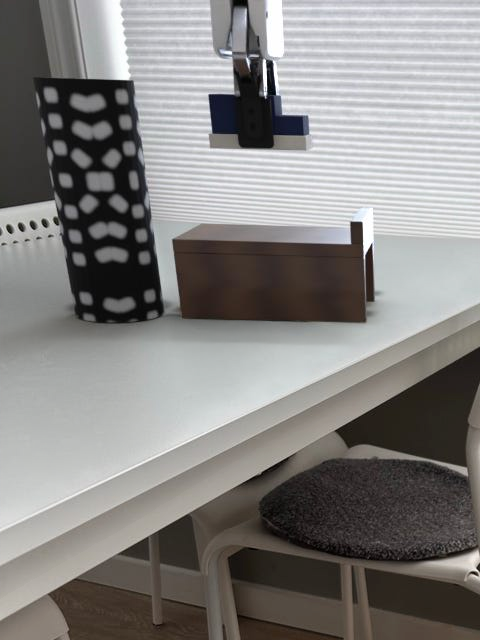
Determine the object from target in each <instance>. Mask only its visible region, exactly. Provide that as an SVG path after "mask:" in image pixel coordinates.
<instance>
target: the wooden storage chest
mask: <svg viewBox="0 0 480 640" xmlns="http://www.w3.org/2000/svg"><path fill="white" fill-rule="evenodd" d="M373 209H374V208H373V207H366V206H365V207H363V206H362V207H360V209H359V210H358V211H357V212H356V214H355V215H354V216H353V217H352V218H351V220H349V227H342V226H341V227H337V226H307V225H306V226H304V225H302V226H301V225H272V224H271V225H270V224H268V225H267V224H266V225H265V224H235V223H234V224H233V223H230V224H229V223H200V224H198V225H196V226H194V227H192V228H191V229H189V230H187V231H185V232H183V233H181V234H179V235H178V236H175V237H174V238H172V239H171V243H172V251H173V258H174V267H175V274H176V282H177V291H178V300H179V306H180V314H181V318H182V319H202V320H203V319H204V320H209V319H210V320H243V321H244V320H245V321H281V322H282V321H283V322H286V321H287V322H317V323H318V322H319V323H321V322H323V323H324V322H325V323H359V324H361V323H363V324H364V323H365V324H366V323H367V321H368V314H367V313H368V311H367V302H375V300H376V287H375V286H376V284H375V283H376V281H375V253H374V252H375V246H374V245H375V244H374V214H373V213H374V211H373Z"/></svg>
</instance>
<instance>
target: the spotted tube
mask: <svg viewBox="0 0 480 640" xmlns="http://www.w3.org/2000/svg"><path fill="white" fill-rule="evenodd" d="M32 80H33V87H34V91H35V97H36V103H37V108H38V114H39V119H40V125H41V131H42V135H43V136H42V137H43V142H44V147H45V152H46V159H47V163H48V169H49V170H48V171H49V176H50V180H51V181H50V182H51V187H52V193H53V198H54V204H55V207H56V214H57V219H58V226H59V232H60V236H61V242H62V248H63V253H64V258H65V264H66V269H67V274H68V281H69V287H70V292H71V297H72V298H71V299H72V303H73V308H74V314H75V317H76V318H78V319H79V320H82V321H87V322H94V323H105V324H106V323H109V324H110V323H111V324H113V323H115V324H117V323H133V322H134V323H135V322H143V321H148V320H152V319H156V318H159V317H162V316H163V315H164V314H165V306H164V297H163V290H162V282H161V275H160V267H159V260H158V252H157V244H156V237H155V231H154V223H153V215H152V208H151V201H150V194H149V193H150V192H149V186H148V178H147V171H146V170H147V169H146V163H145V156H144V147H143V142H142V133H141V126H140V119H139V109H138V103H137V96H136V88H135V80H134V79H113V78H112V79H111V78H110V79H109V78H84V77H83V78H81V77H79V78H78V77H51V76H49V77H47V76H45V77H44V76H32Z"/></svg>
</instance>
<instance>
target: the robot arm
mask: <svg viewBox="0 0 480 640" xmlns="http://www.w3.org/2000/svg"><path fill="white" fill-rule="evenodd" d="M209 7H210V21H211V37H212V39H211V40H212V47H213V48H212V49H213V52H214V53H215V54H216V56H217V57H218V58H220V59H222V60H230V61H232V75H233V76H232V77H233V94H235V97H236V98H234V100H235V110H236V121H237V132H238V143H239V146H240V147H242V148H268V149H269V148H272V147H273V146H274V135H273V122H272V109H271V99H267V95H280V90H279V83H278V82H279V81H278V74H277V73H278V71H277V63H276V62H277V61H279V60H281V58H283V56H284V24H283V8H282V7H283V6H282V0H209Z"/></svg>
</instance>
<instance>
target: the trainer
mask: <svg viewBox="0 0 480 640" xmlns="http://www.w3.org/2000/svg"><path fill="white" fill-rule="evenodd" d="M207 97H208V105H209V106H208V107H209V115H210V125H211V133H208V140H209V148H210V149H224V150H225V149H226V150H228V149H229V150H266V151H304V152H306V151H309V150H312V149H313V147H314V145H313V134H312V133H310V121H309V115H307V114H283V106H282V95H280V94H279V95H267V99H271V109H272V122H273V135H274V146H273V147H272V148H269V149H268V148H242V147H240V146H239V143H238V132H237V121H236V110H235V100H234V98H236V97H235V93H208V95H207Z"/></svg>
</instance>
